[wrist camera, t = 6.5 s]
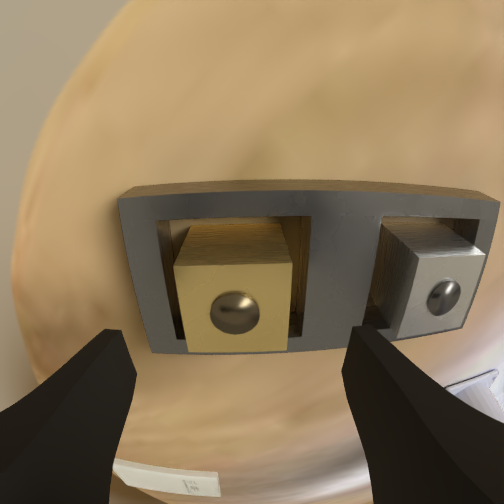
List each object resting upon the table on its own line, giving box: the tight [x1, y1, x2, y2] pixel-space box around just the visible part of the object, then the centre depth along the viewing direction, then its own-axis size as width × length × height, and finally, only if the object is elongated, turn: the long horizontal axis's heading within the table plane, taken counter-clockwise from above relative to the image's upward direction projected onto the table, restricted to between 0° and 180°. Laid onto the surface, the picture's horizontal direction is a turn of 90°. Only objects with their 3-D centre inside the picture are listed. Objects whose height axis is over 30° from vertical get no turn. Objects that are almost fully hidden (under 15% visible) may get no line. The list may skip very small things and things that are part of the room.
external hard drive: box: [113, 458, 221, 497], centre depth 26 cm, size 2×8×12 cm
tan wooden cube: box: [173, 223, 293, 352], centre depth 12 cm, size 4×4×4 cm
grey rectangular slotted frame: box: [117, 180, 500, 355], centre depth 13 cm, size 8×18×2 cm, turn 91°
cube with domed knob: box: [369, 222, 485, 339], centre depth 13 cm, size 4×4×4 cm
